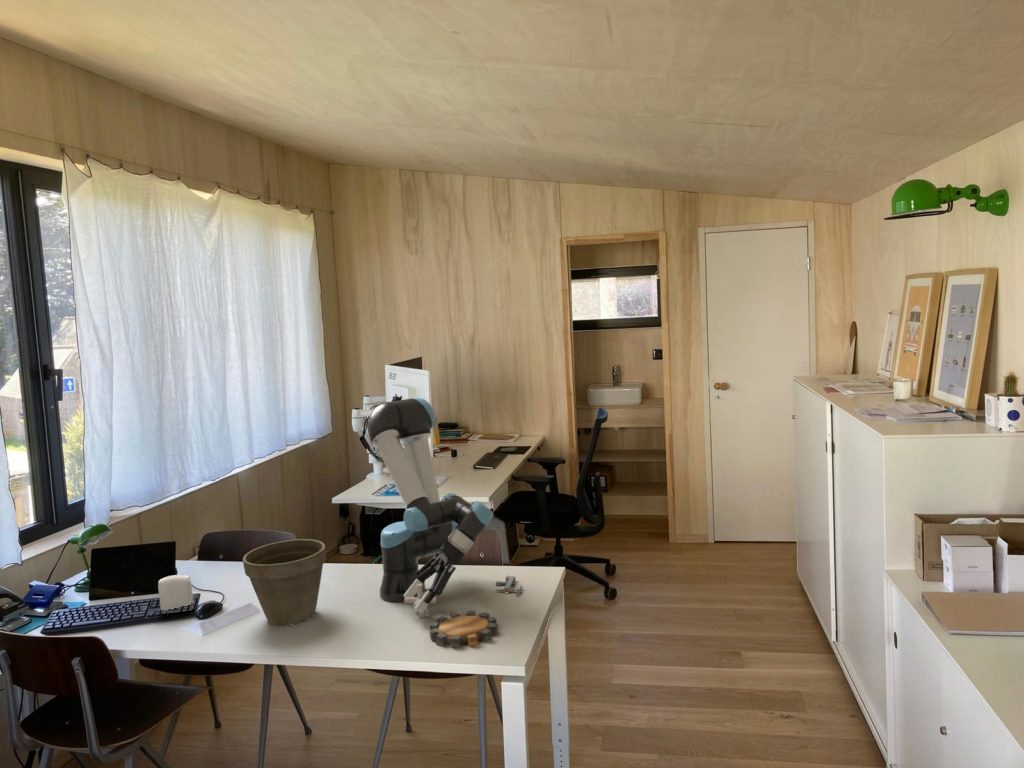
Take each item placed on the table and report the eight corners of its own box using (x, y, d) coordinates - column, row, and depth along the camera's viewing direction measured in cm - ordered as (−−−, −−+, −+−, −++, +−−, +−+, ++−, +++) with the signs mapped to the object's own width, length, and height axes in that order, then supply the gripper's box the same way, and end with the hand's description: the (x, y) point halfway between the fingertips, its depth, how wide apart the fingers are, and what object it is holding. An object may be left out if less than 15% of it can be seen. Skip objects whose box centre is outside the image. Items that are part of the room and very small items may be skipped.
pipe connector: (432, 623, 231) (430, 590, 230) (401, 622, 233) (398, 590, 232) (442, 610, 241) (439, 579, 240) (411, 609, 243) (409, 578, 242)
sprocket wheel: (416, 637, 221) (415, 629, 221) (463, 614, 236) (462, 606, 236) (464, 653, 209) (464, 644, 208) (511, 628, 223) (511, 620, 223)
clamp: (498, 575, 264) (526, 575, 262) (498, 581, 264) (527, 581, 262) (489, 592, 249) (519, 592, 247) (489, 598, 249) (519, 598, 247)
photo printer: (159, 616, 251) (155, 579, 250) (163, 611, 255) (159, 575, 254) (192, 612, 253) (188, 576, 251) (195, 607, 257) (191, 571, 256)
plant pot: (246, 639, 228) (239, 568, 226) (251, 609, 251) (245, 545, 249) (332, 625, 234) (326, 556, 232) (329, 597, 258) (323, 534, 256)
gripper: (478, 563, 230) (433, 624, 226) (452, 543, 252) (410, 598, 248) (460, 549, 228) (414, 610, 223) (435, 530, 250) (393, 586, 245)
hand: (412, 604), depth 235 cm, fingers open, 11 cm apart
